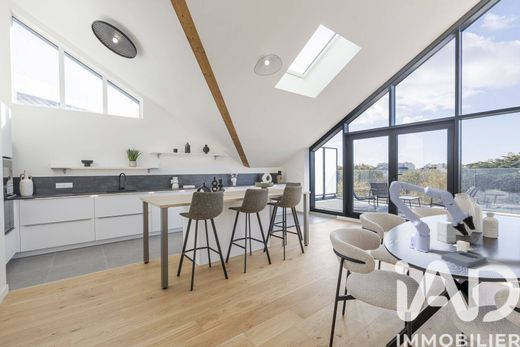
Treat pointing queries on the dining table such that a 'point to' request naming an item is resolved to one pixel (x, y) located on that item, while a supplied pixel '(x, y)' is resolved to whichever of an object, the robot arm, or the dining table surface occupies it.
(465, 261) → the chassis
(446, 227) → the supplement box
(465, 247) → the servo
